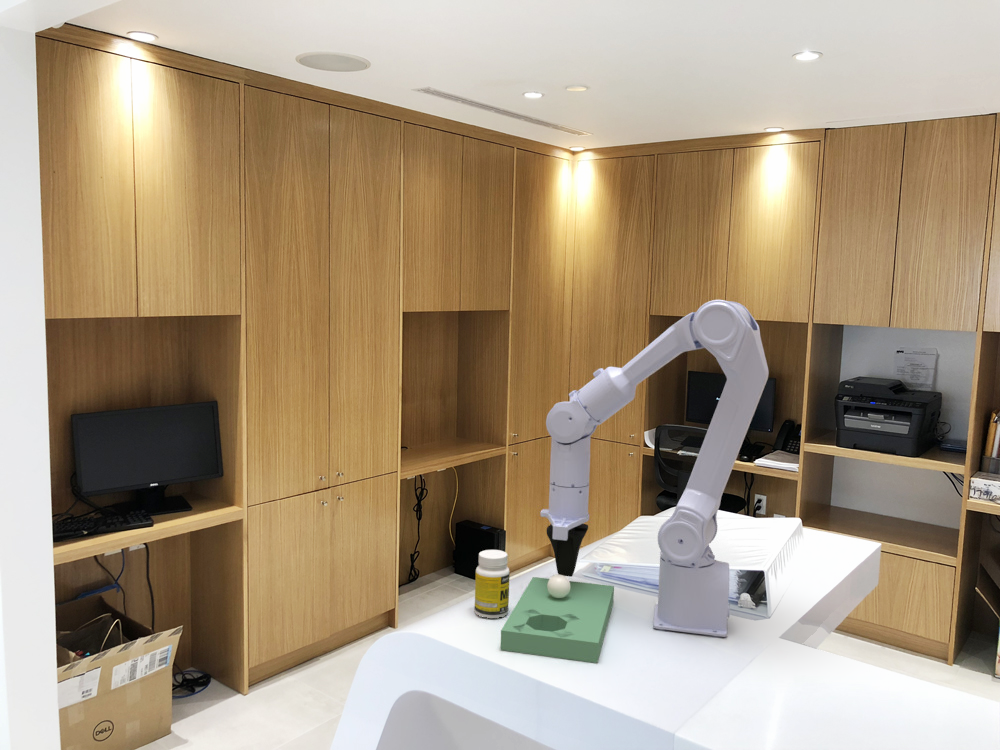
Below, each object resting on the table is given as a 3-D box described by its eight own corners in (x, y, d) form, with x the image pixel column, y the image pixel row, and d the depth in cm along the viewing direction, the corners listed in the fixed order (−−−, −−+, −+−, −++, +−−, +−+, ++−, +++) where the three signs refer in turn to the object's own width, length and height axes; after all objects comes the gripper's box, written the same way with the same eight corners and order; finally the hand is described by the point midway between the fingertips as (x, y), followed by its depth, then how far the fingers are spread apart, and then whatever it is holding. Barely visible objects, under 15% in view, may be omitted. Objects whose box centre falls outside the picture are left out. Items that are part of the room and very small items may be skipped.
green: (613, 602, 111) (614, 586, 111) (597, 663, 92) (598, 643, 92) (532, 593, 114) (533, 576, 114) (500, 649, 95) (501, 630, 95)
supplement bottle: (504, 621, 104) (506, 560, 103) (470, 617, 105) (472, 557, 104) (511, 608, 108) (513, 550, 108) (478, 604, 109) (480, 547, 109)
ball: (571, 594, 107) (572, 572, 107) (568, 603, 104) (568, 580, 104) (549, 592, 108) (549, 570, 108) (544, 600, 105) (545, 577, 105)
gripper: (550, 471, 119) (547, 556, 120) (532, 492, 105) (529, 588, 106) (596, 474, 117) (592, 561, 119) (583, 496, 103) (579, 594, 105)
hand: (565, 574), depth 112 cm, fingers closed
